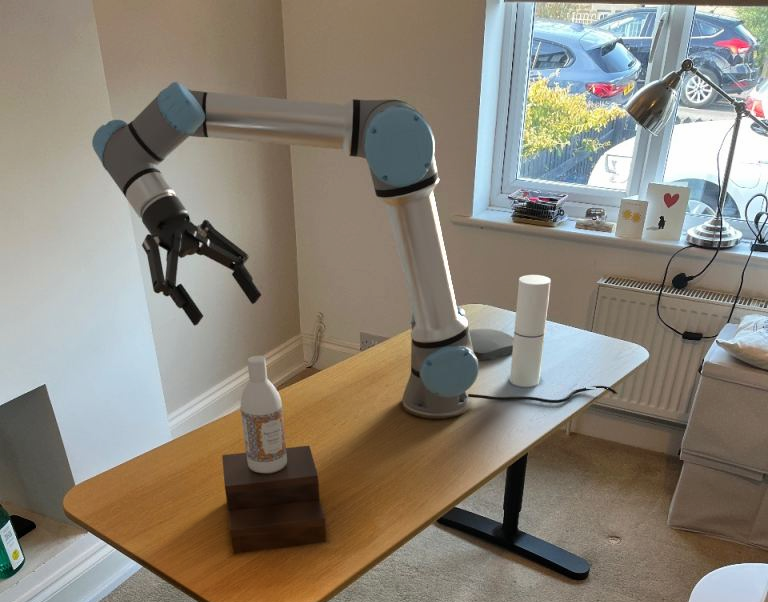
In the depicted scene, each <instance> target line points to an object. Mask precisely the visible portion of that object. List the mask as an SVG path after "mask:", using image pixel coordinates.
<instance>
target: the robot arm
mask: <svg viewBox="0 0 768 602" xmlns="http://www.w3.org/2000/svg"><path fill="white" fill-rule="evenodd" d="M189 137H196V138H211V139H213V138H214V139H221V140H222V139H224V140H233V141H246V142H256V143H267V144H278V145H286V146H287V145H288V146H299V147H310V148H320V149H321V148H322V149H332V150H341V151H343V152H344V153H345V154H346V156H348V157H354V158H355V157H356V158H362V159H365V160H366V162H367V165H368V168H369V172H370V176H371V181H372V184H373V185H372V186H373V189H374V192H375V197H376V199H378V200H380V201H382V202H383V203H384V204H385V205H386V207H387V210H388V215H389V219H390V223H391V227H392V232H393V235H394V240H395V244H396V249H397V253H398V256H399V261H400V264H401V269H402V272H403V278H404V282H405V286H406V289H407V295H408V298H409V303H410V306H411V311H412V313H411V320H410V324H411V331H410V339H411V342H410V343H411V344H410V345H411V346H410V347H411V348H410V375H409V377H408V380H407V383H406V386H405V389H404V392H403V394H402V408H403V409H404V410H405V411H406V412H407V413H408V414H410V415H413V416H415V417H418V418H422V419H429V420H446V419H451V418H456V417H458V416H461V415H463V414H464V413H466V411H467V410H468V409H469V401H470V398H474V399H475V398H476V399H484V400H493V401H520V400H525V401H536V402H541V403H547V404H559V403H560V404H561V403H565V402H567V401H568V400H570V399H571V398H572V397H573V396H574V395H576V394H578V393H581V392H582V393H583V392H586V391H593V390H594V389H586V387H582V388H577V389H574V390H572V391H570V393H569V394H568V395H567V396H565V397H564V398H559V399H549V398H548V399H547V398H542V397H537V396H527V395H526V396H491V395H485V394H475V393H468V390H469V389H470V388H471V387H472V386H473V385H474V383H476V380H477V378H478V376H479V359H477V357H476V355H475V354H474V351H473V347H472V342H471V337H470V333H469V330H470V328H469V323H468V320H467V318H466V312H465V310H464V309H463V308H461V307H460V306H457V302H456V299H455V297H456V296H455V293H454V288H453V283H452V279H451V274H450V268H449V264H448V259H447V254H446V249H445V245H444V240H443V235H442V229H441V225H440V220H439V215H438V210H437V206H436V201H435V196H434V191H435V188H436V187H437V185H438V183H439V181H440V177H439V172H438V168H437V163H436V157H435V151H436V149H435V147H436V145H435V144H436V143H435V136H434V133H433V130H432V128H431V126H430V124H429V122H428V121H427V119H426V118H425V117H424V116H423V115H422V113H420V112H419V111H418V110H417V109H416V108H415V107H414V106H412V105H411V104H410V103H408V102H406V101H405V100H400V99H355V98H350V99H349V100H348V101H347V102H346V103H345V104H341V103H331V102H319V101H309V100H298V99H288V98H287V99H286V98H279V97H267V96H257V95H255V96H254V95H244V94H234V93H223V92H212V91H201V90H191V89H190V88H187V87H186V86H184V85H183V84H182V83H180V82H178V81H173V82H171V83H170V84H169V85H168V86H167V87H165V88H163V89H162V90H161V91H160V92H159V93H158V94H157V96H156V97H155V98H154V99H153V100H152V101H151V102H149V104H147V106H146V107H144V109H143V110H141V112H139V114H137V116H135V118H134V119H133V120H131V121H130V122H129V123H127V122H126V121H124V120H122V119H113V120H109V121H108V122H107V123H106V124H102V125H100V126H99V127H98V128H97V129H96V131H95V132H94V134H93V136H92V140H91V144H92V149H93V151H94V152H95V154H96V156H97V158H98V159H99V161H100V162H101V165H102V167H103V168H104V170H105V171H106V172H107V173H108V175H110V178H111V179H112V180H113V182H114V183H115V184H116V186H117V187H118V188H119V190H120V191H121V193H122V194H123V196H124V198H126V200H127V202H128V204H129V205H130V206H131V207H132V209H133V210H134V212H135V214H136V215H137V217H138V218H140V219H141V222H142V224H143V226H144V227H145V228H146V230H147V231H148V232H149V233H148V234H147V235H146V236H145V238H144V240H143V241H142V244H141V247H142V248H143V250H144V252H145V254H146V256H147V257H146V258H147V261H148V266H149V273H150V278H151V284H152V289H153V292H154V293H155V294H160V293H162V295H163V296H165V297H170V298H171V300H172V301H173V302H174V304H175V306H176V307H177V308H178V309H182V310H183V311H184V313H185V315H186V316H187V318H188V319H189V320H190V322H191V323H192V325H193V326H194V327H195V326H198V325H199V323H200V322H201V320H202V319H203V318H204V314H203V313H202V312H201V310H200V308H199V307H198V305H197V304H196V303H195V301H194V300H193V298H192V297H191V296H190V294H189V293H188V291H187V290H186V288H185V286H183V284H182V283H178V284H177V279H178V268H179V267H178V266H179V258H180V259H183V258H185V257H186V256H193V255H196V254H197V255H199V256H204V257H206V258H208V259H210V260H211V261H214V262H216V263H218V264H220V265H222V266H223V267H225V268H227V269H229V270H231V271H233V272H232V273H231V276H232V277H233V278H234V281H236V284H238V286H239V287H240V288H241V291H242V292H243V293H244V295H245V297H246V298H247V299H248V300H249V302H250V303H251V304H252V305H255V304H257V301H259V299H260V298H261V296H262V293H261V291H260V290H259V288H258V287H257V286H256V285H255V282H254V278H253V276H252V274H251V273H250V271H249V270H248V268H247V267H246V266H245V264H246V262H247V261H248V260H249V258H250V256H249V254H248V253H246V252H245V250H243V249H242V248H240V247H239V246H238V245H236V244H235V242H234V243H233V241H231V240H230V239H229V238H227V237H226V236H225V235H224V234H222V233H221V232H220V231H218V230H217V229H216V228H215V227H214V226H213V225H212V223H211V222H210V221H209V220H208V219H204V220H202V222H201V224H198V225H196V224H195V223H193V222H192V221H191V217H190V214H189V211H188V209H186V207H185V206H184V204H183V203H182V201H181V200H180V198H179V197H178V196H177V195H176V192H175V191H174V190H173V188H172V186H171V185H170V184H169V182H168V180H167V179H166V178H165V177H164V175H163V174H162V172H161V171H160V169H159V167H158V166H159V164H161V163H162V162H163V161H164V160H165V159H166V158H167V157H168V156H169V155H170V154H172V153H173V152H174V151H175V150H176V149H177V148H178V147H180V146H181V144H183V143H184V142H185V141H186V140H187V139H188V138H189ZM200 243H201V244H200ZM159 247H160V248H161V249H163V250H165V251H166V258H165V261H166V266H165V267H166V268H165V274H164V269H163V263H162V257H161V252H160V248H159ZM591 387H596V388H604V389H603V390H606V391H609V392H611V393H612V394H614V395H618V392H617V391H616V390H615V389H614V388H612V387H610V386H606V385H593V386H591ZM607 388H608V389H607Z"/></svg>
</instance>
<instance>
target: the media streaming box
mask: <svg viewBox="0 0 768 602" xmlns="http://www.w3.org/2000/svg"><path fill="white" fill-rule="evenodd" d="M469 333H470V337H471V342H472V347H473V351H474V354H475V355H476V357H477V359H478V360H479V361H481V360H482V361H483V360H484V361H485V360H486V361H487V360H492V359H497V358H499V357H503V356H506V355H509V354H512V352H513V340H514V336H512V335H510V334H509V333H507V332H504V331H502V330H498V329H492V328H476V329H474V328H473V329H469Z"/></svg>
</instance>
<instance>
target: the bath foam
mask: <svg viewBox="0 0 768 602" xmlns="http://www.w3.org/2000/svg"><path fill="white" fill-rule="evenodd" d="M246 361H247V369H248V370H247V371H248V379H249V380H248V381H247V384H246V385H245V387H244V389H243V391H242V394H241V397H240V398H241V399H240V414H241V415H240V416H241V422H242V431H243V438H244V445H245V447H244V448H245V453H246V455H247V462H248V466H249V468H250V469H251V470H253V471H255V472H257V473H273V472H277V471H279V470H281V469H282V468H284V467H285V465H286V463H287V455H286V448H287V444H286V434H285V423H284V410H283V403H282V402H283V401H282V399H281V396H280V393H279V391H278V390H277V388H276V386H275V385H274V384H273V383H272V382H271V381H270V380H269V378H268V372H267V363H266V358H265V357H264V356H261V355H253V356H250V357H249V358H247V360H246Z"/></svg>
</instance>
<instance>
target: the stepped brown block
mask: <svg viewBox="0 0 768 602" xmlns="http://www.w3.org/2000/svg"><path fill="white" fill-rule="evenodd" d="M286 455H287V463H286V465H285V467H284V468H282V469H281V470H279V471H277V472H273V473H257V472H255V471H253V470H251V469H250V468H249V466H248V462H247V455H246V452H239V453H238V452H237V453H230V454H228V453H227V454H222V455H221V458H222V460H221V461H222V469H223V470H222V471H223V482H224V490H225V497H226V504H227V511H228V522H229V533H230V539H231V547H232V553H233V555H235V554H242V553H243V554H244V553H251V552H252V553H253V552H258V551H259V552H260V551H266V550H273V549H281V548H287V547H295V546H304V545H311V544H319V543H326V542H327V534H326V519H325V515H324V511H323V507H322V503H321V500H320V499H321V498H320V485H319V474H318V471H317V467H316V464H315V460H314V457H313V453H312V449H311V446H310V445H301V446H292V447H286Z"/></svg>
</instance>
